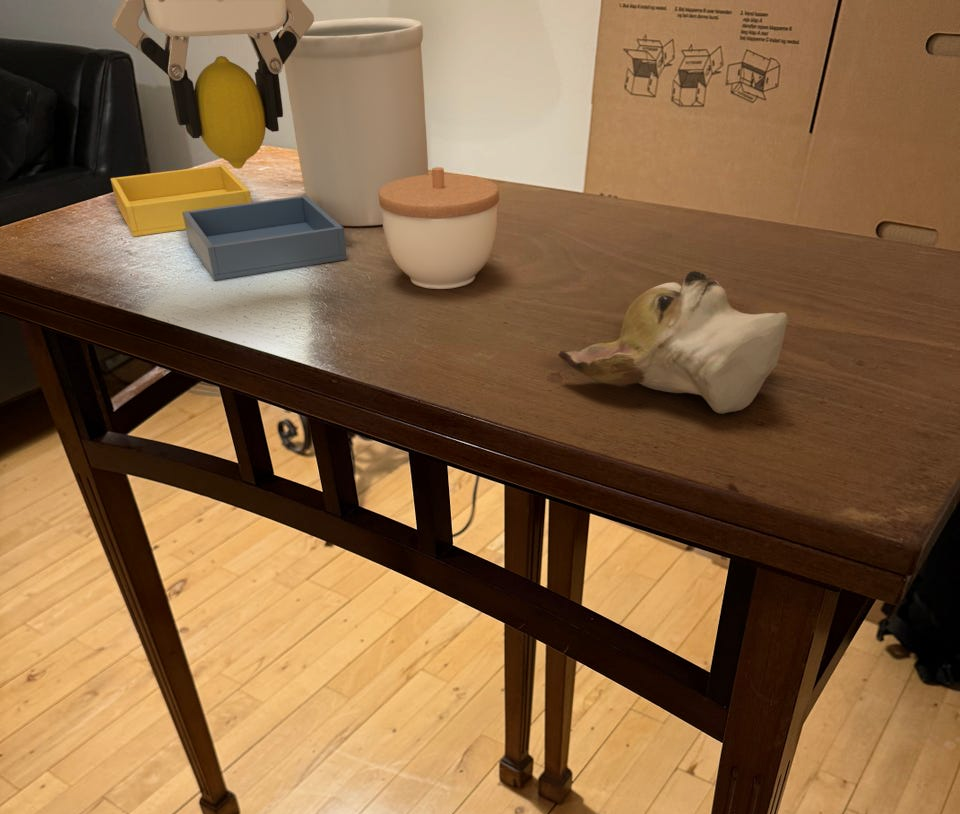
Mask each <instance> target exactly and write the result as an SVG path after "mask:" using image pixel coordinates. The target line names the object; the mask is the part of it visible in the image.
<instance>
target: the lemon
mask: <svg viewBox="0 0 960 814" xmlns="http://www.w3.org/2000/svg"><path fill="white" fill-rule="evenodd" d="M194 91H195V97H196V103H197V109H198V115H199V121H200V126H201V132H202V136H200V138H201V140H202V141H203V143H204V144H205V146H206V147H207V148H208V149H209V150H210V151H211V153H213V154H214V155H215V156H217V157H218V158H220V159H222V160H225V161H227V163H229V164H230V165H231V166H232V168H234V169H238V170H239V169H242V168H243V167H244V165H245V164H246V162H247V161H248V160H249V159H250V158H252V157H253V156H255V155H256V154H257V153H258V151H259V150H260V149H261V147H262V145H263V143H264V140H265V135H266V129H267V128H266V119H265V111H264V106H263V102H262V99H261V96H260V93H259V90H258V88H257V86H256V81H255V80H254V78H253V77H252V76H251V75H250V74H249V72H248V71H247V70H245V69H244V68H243V67H241V66H240V65H238V64H237V63H234V62H232V61H230V60H229V59H228V58H227V57H226V56H224V55H219V56H216V58H215V60H214V61H213V62H211V63H210V64H208V65H207V66H205V67H204V68H203V70H201V71H200V73H199V74H198V77H197V79H196V81H195V84H194Z"/></svg>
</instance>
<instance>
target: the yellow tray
mask: <svg viewBox="0 0 960 814" xmlns="http://www.w3.org/2000/svg"><path fill="white" fill-rule="evenodd" d="M110 182H111V187H112V190H113V194H114V195H113V196H114V198H115V202H116V206H117V208H118V210H119V212H120V214H121V216H122V218H123V219H124V222H125V223H126V225H127V227H128V229H129V231H130V233H131V235H132V237H139V236H148V235H154V234H162V233H169V232H170V233H171V232H176V231H183V230H186V227H185V223H184V218H183V213H182V212H186V211H193V210H201V209H208V208H216V207H223V206H230V205H238V204H245V203H253V202H252V196H251V191H250V189H249V188H248V187H247V186H246V185H245V184H244V183H243V182H242V181H241V180H240V179H239V178H238V177H237V176H236V175H235V174H234V173H233V172H232V171H231V170H230V169H229V168H228V167H227V166H226V164H219V165H210V166H209V165H208V166H201V167H193V168H186V169H185V168H184V169H177V170H168V171H159V172H151V173H145V174H144V173H143V174H136V175H135V174H134V175H128V176H127V175H126V176H118V177H111V178H110Z"/></svg>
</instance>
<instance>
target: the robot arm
mask: <svg viewBox="0 0 960 814" xmlns="http://www.w3.org/2000/svg"><path fill="white" fill-rule="evenodd" d="M143 12H144V15H145V17H146V19H147V21H148V22H149V24H151V25H152V26H154V27H155V28H156V29H157V30H158V31H160V32H162V33H163V34H164V43H163V44H164V45H163V47H162V46H161V45H160V44H159V43H157V42H156V41H155V40H154V39H153V38H151V36H149V35H148V34H147V33H146V32H144V31H143V30H142V29H141V28H140V26H139V19H140V17H141V16H142V14H143ZM287 14H288V19H287ZM286 21H287V22H286ZM313 22H315V16H314V14H313V12H312V11H311V10H310V8H309V7H308V6H307V5H306V4H305V2H304V1H303V0H122V2H121V4H120V5H119V7H118V9H117V11H116V13H115V15H114V17H113V19H112V22H111V23H112V24H111V25H112V28H113V30H115V32H116V33H118V35H120V36H121V37H122V38H124V39H125V40H126V41H128V42H129V43H130V44H131V45H132V46H133V47H135V48H136V49H137V50H138V51H140V52H141V53H142V54H143V55H145V56H146V57H147V58H148V59H149V60H150V61H151V62H153V63H154V64H155V65H156V66H157V67H158V68H159V69H160V70H161V71H162V72H164V73H165V74H166V75H167V76H168V80H169V85H170V89H171V96H172V100H173V107H174V112H175V116H176V121H177V124H178V125H179V126H185V130H186V133H187V134H188V135H189V136H190V137H191V138H192V139H200V138H201V136H202V132H201V126H200V121H199V115H198V109H197V103H196V97H195V91H194V89H195V85H194V83H193V80H191V78H189V74H188V70H187V69H186V63H187V55H188V47H189V40H190V37H212V36H213V37H214V36H233V35H247V36H248V38H249V41H250V44H251V46H252V48H253V50H254V53H255V55H256V57H257V59H258V61H257V69H255V70H256V71H255V72H254V79H255V84H256V86H257V88H258V90H259V93H260V96H261V99H262V102H263V106H264V111H265V119H266V129H267V130H268V131H270V132H279V131H280V128H279V118H283V117H284V110H283V100H282V93H281V92H282V91H281V85H280V84H281V83H280V76H279V75H280V74H281V72H282V71H283V69H284V68H283V67H284V63H285V62H286V60H287V59H288V57H289V56H290V54H291V53H292V51H293V50H294V48H295V47H296V45H297V42H298V41H299V40H300V39H301V38H302V37H303V35H304V34H305V33H306V31H307V30H308V29H309V27H310V26H311V25H312V24H313ZM282 28H283V29H282ZM279 29H282V30H280V31H279V32H278V33H277V32H276V35H275V37H274V38H273V37H272V35H271V32H274V31H276V30H279Z"/></svg>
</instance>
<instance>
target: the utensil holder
mask: <svg viewBox="0 0 960 814" xmlns="http://www.w3.org/2000/svg"><path fill="white" fill-rule="evenodd" d="M282 29H283V27H281V28H278V29H277V31H276V34H277V33H278V32H279V31H280V30H282ZM423 39H424V30H423V23H422V22H421V21H420V20H417V19H412V18H407V17H406V18H405V17H389V16H388V17H381V16H380V17H354V18H353V17H352V18H351V17H350V18H349V17H348V18H337V19H327V20H319V21H314V22H313V24H312V25H311V26H310V27H309V29H308V30H307V31H306V33H305V34H304V35H303V37H302V38H301V39H300V40H299V41H298V42H297V45H296V47H295V48H294V50H293V51H292V53H291V54H290V56H289V57H288V59H287V60H286V62H285V63H284V65H283V67H284V72H285V79H286V85H287V92H288V98H289V104H290V111H291V117H292V122H293V130H294V135H295V143H296V149H297V154H298V160H299V161H298V162H299V166H300V171H301V177H302V182H303V187H304V194H305V195H306V196H308V197H309V198H310V199H311V200H312V201H313V202H314V203H316V204H317V205H318V206H319V207H320V208H321V209H322V210H324V211H325V212H326V213H327V214H328V215H329V216H331V217H332V218H333V219H334V220H335V221H336V222H337V223H339V224H340V225H341V226H342V227H371V226H381V225H382V226H383V223H382V214H381V206H380V203H379V194H378V193H379V191H380V189H381V188H382V187H383V186H385V185H386V184H388V183H390V182H393V181H396V180H399V179H403V178H407V177H412V176H420V175H429V158H428V140H427V126H426V125H427V124H426V108H425V107H426V105H425V103H426V102H425V87H424V86H425V84H424V73H423V72H424V71H423V70H424V69H423V57H422V54H423V53H422V42H423Z"/></svg>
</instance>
